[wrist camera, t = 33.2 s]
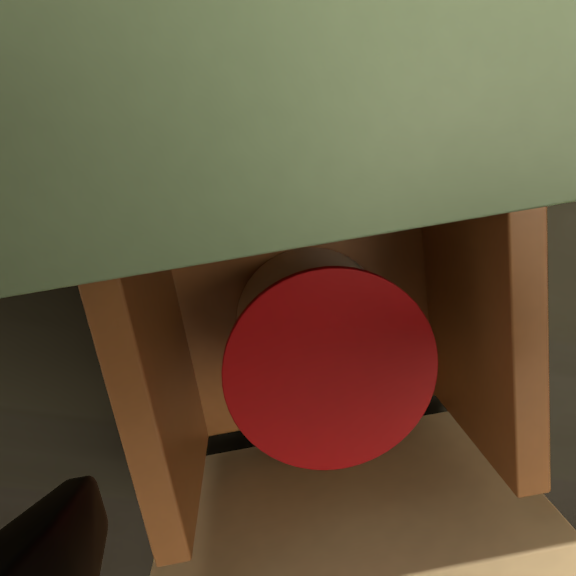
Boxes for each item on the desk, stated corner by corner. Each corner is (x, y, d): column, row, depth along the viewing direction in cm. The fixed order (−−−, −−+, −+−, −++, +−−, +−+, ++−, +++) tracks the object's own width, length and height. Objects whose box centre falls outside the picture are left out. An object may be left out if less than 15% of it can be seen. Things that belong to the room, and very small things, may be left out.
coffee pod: (287, 419, 16) (301, 506, 12) (195, 299, 14) (175, 351, 10) (417, 335, 15) (476, 396, 11) (333, 205, 14) (367, 222, 10)
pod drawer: (476, 554, 19) (584, 740, 13) (212, 606, 19) (195, 823, 12) (445, 65, 14) (592, -6, 8) (91, 120, 14) (-30, 87, 8)
